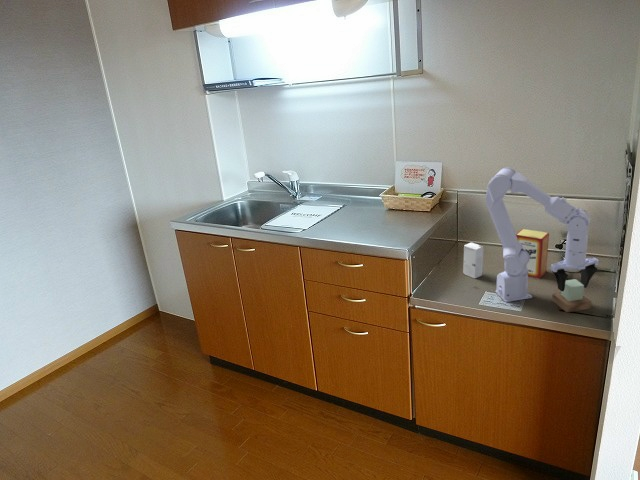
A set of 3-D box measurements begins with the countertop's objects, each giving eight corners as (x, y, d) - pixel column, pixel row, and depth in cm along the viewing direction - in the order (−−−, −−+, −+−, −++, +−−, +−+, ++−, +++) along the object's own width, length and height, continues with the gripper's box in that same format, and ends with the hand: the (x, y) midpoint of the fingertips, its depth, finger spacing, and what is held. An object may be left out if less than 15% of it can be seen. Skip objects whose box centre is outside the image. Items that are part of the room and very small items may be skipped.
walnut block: (566, 313, 146) (567, 305, 145) (551, 301, 154) (552, 293, 152) (590, 309, 147) (591, 301, 146) (574, 297, 154) (575, 289, 153)
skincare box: (462, 273, 178) (462, 245, 174) (470, 270, 180) (470, 241, 176) (475, 279, 173) (475, 249, 169) (483, 275, 175) (483, 246, 171)
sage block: (568, 301, 147) (570, 287, 145) (560, 294, 151) (562, 281, 149) (582, 299, 147) (584, 285, 145) (574, 292, 151) (575, 279, 150)
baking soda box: (513, 272, 174) (515, 233, 169) (520, 266, 179) (522, 227, 173) (539, 278, 168) (542, 238, 162) (546, 271, 172) (549, 232, 166)
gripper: (561, 257, 139) (558, 297, 144) (607, 250, 140) (602, 290, 145) (548, 249, 145) (545, 287, 150) (591, 242, 146) (587, 280, 151)
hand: (572, 288), depth 148 cm, fingers open, 7 cm apart
